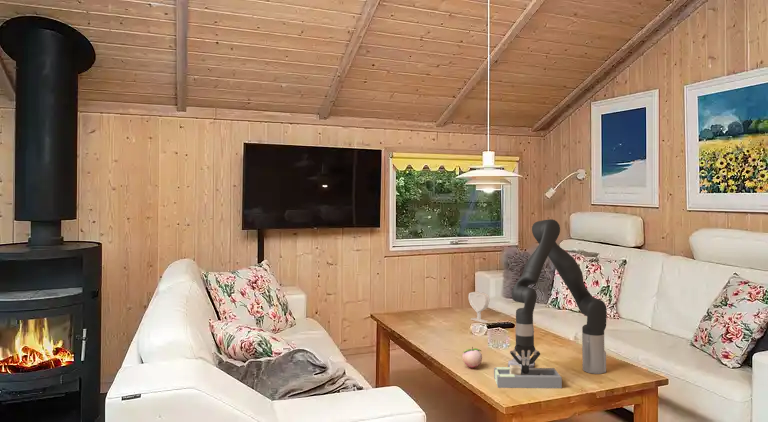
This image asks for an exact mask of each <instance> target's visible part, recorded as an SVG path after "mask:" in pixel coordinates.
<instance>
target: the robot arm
mask: <svg viewBox="0 0 768 422" xmlns="http://www.w3.org/2000/svg"><path fill="white" fill-rule="evenodd" d="M531 232H532V233H531V234H532V235H533V237H534V238H535V240H536V242H537V243H538V246H537V247H536V249H535V250H534V251H533V253H531V256H529V258H528V260H527V261H526V262H525V265H524V268H523V271H522V274H521V276H520V277H519V278H518V280H517V281H516V282H515V284H514V285H513V287H512V288H511V298H512V300H513V301H514V302H516V303H522V304H524V305H523V307H519V308H517V309H516V310H515V346H514V349H513V350H510V351H509V354H510V355H511V357H512V359H513V358H514V359H515V360H516V361H517V362H518V364H521V365H522V372H523V373H524V374H528V373H529V365H530V364H533V363H534V362H535V363H536V361H537V359H538V358H539V357H540V356H541V353H540V351H539V350H537V349H536V347H535V330H534V329H535V328H534V311H535V307H536V304H537V298H538V296H537V295H538V293H537V292H536V289H535V288H534V287H529V286H531V285H535V284H537V283H538V282H539V279H540V277H541V273H542V271H543V267H544V265H545V262H546V260H547V258H548V259H549V260H550V261H551V263H552V264H553V266H554V268H555V269H556V271H557V273H558V275H559V277H560V278H561V280H562V281H563V282H564V284H565V286H566V287H567V288H568V290H569V292H570V294H571V295H572V297H573V299H574V302H575V303H576V306H577V308H578V310H579V311H580V313H581V314H582V315H583V316H585V317H587V318H586V324H584V325H583V326H582V328H581V331H582V332H581V333H582V334H581V336H582V337H581V338H582V342H581V343H582V345H581V346H582V347H581V348H582V350H581V351H582V371H584V372H586V373H588V374H595V375H601V374H603V373H604V374H605V373H607V351H606V350H605V329H606V328H607V315H608V314H607V313H608V312H607V311H608V310H607V306H606V303H605V302H604V301H603V300H602V299H600V298H597V297H594V296H593V295H592V294H591V293H590V291H589V290H588V288H587V287H586V285H585V282H584V274H583V272H582V269H581V268H580V265H579V264H578V263H577V261H576V260H575V258H574V257H573V256H572V255H571V254H570V253H568V251H566V250H565V249H563V248H562V247H561V246H560V245H559V244H558V243H557V240H558V238H559V235H561V234H560V233H561V226H560V224H559V222H558V221H557V220H556V219H553V218H552V219H550V218H549V219H544V220H538V221H536V222H534V223H533V224H532V227H531ZM517 355H519V356H520V357H521V360H519V359H518V358H517ZM531 356H532V357H531ZM530 358H531V359H530Z"/></svg>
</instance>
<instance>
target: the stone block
mask: <svg viewBox="0 0 768 422" xmlns="http://www.w3.org/2000/svg"><path fill="white" fill-rule="evenodd" d="M516 356H517V358H518V359H519V360H521V357H520V356H519V354H516ZM531 358H532V357H530V359H531ZM507 362H508V363H507V367H510V365H519V366H520V367H521V368H522V365H521V364H518V362H517V361H516V360H515V359H514V358H513V357H512V359H511V360H508V361H507ZM535 364H536V361H535V362H534V363H533V364H530V365H529V368H535Z"/></svg>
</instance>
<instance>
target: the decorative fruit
mask: <svg viewBox="0 0 768 422" xmlns="http://www.w3.org/2000/svg"><path fill="white" fill-rule="evenodd" d="M462 361H463V363H464V365H466V366H467V367H469V368H471V369H473V368H476V367H478V366H479V365H481V362H482V361H483V354H482V350H481V348H476V347H475V348H474V347H473V346H472V347H471V348H466V349H464V350H463V351H462Z"/></svg>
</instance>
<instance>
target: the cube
mask: <svg viewBox="0 0 768 422" xmlns="http://www.w3.org/2000/svg"><path fill="white" fill-rule="evenodd" d="M510 374H514V375H521V367H520V366H519V365H510Z"/></svg>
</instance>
